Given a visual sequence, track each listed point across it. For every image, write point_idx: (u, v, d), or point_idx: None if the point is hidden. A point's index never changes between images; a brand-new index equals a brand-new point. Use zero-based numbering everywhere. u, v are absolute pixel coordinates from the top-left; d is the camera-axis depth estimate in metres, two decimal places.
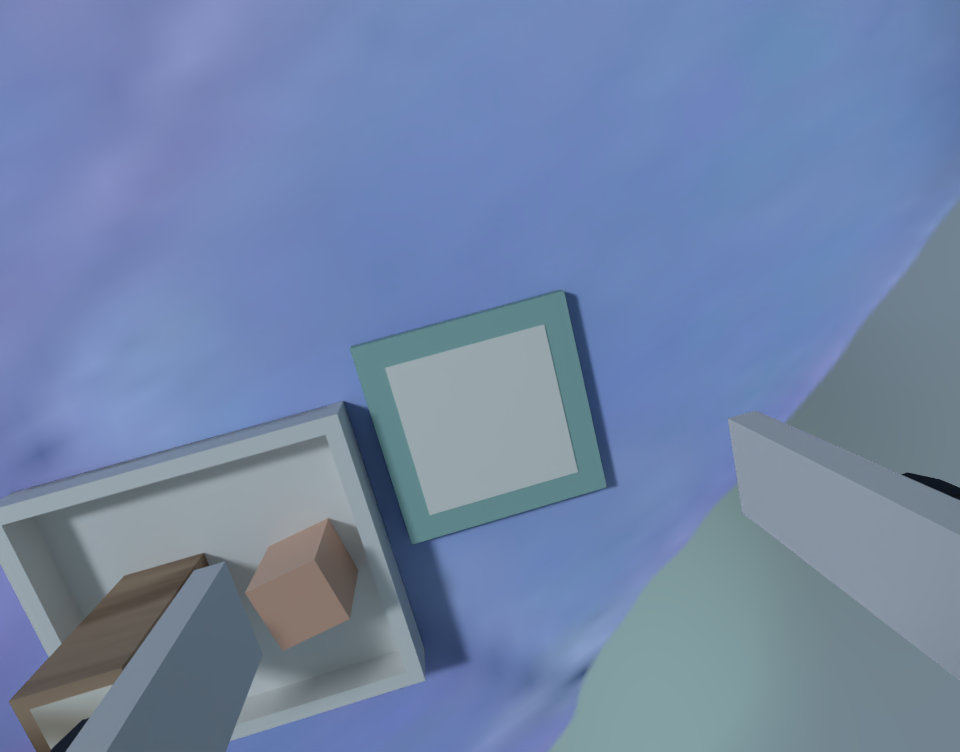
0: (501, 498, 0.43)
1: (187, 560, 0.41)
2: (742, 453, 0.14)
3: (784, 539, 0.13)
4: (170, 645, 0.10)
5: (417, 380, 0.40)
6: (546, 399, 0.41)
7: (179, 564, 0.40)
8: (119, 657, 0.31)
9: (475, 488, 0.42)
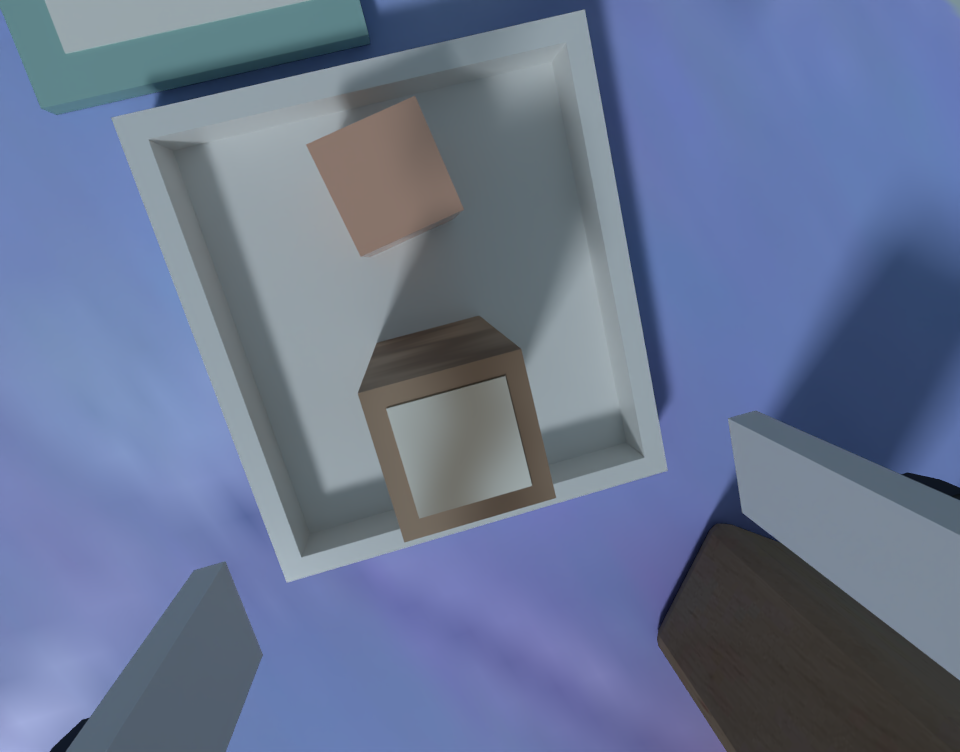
0: None
1: None
2: (742, 453, 0.14)
3: (784, 539, 0.13)
4: (170, 645, 0.10)
5: None
6: None
7: None
8: None
9: None
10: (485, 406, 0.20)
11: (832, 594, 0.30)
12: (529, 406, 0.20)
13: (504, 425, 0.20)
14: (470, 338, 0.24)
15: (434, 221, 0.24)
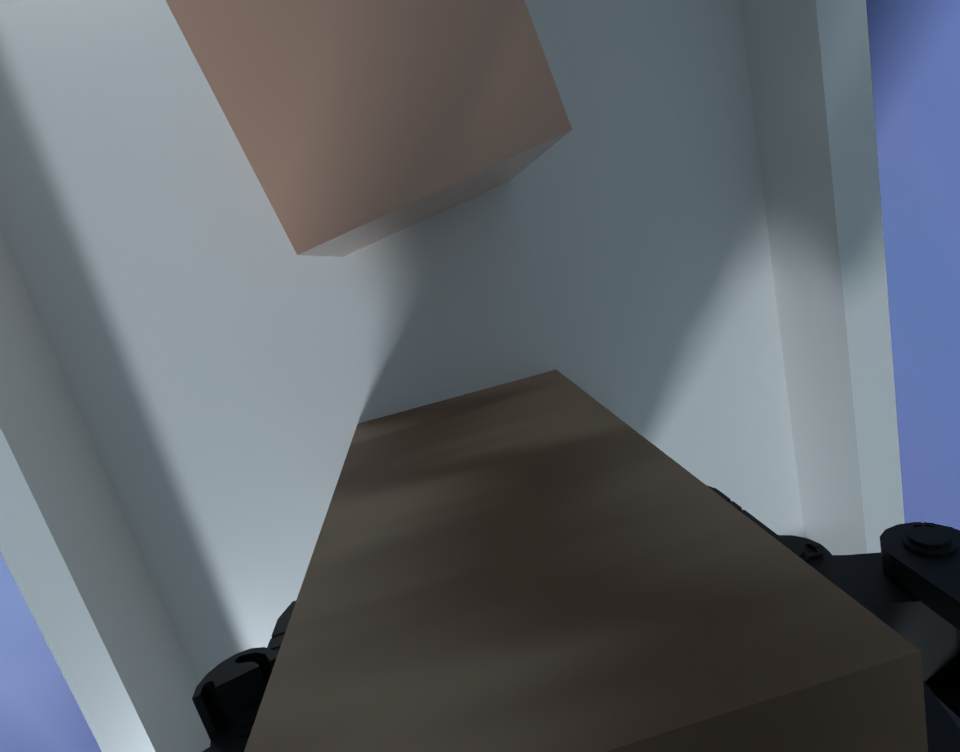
0: None
1: None
2: None
3: None
4: None
5: None
6: None
7: None
8: None
9: None
10: None
11: None
12: None
13: None
14: (584, 467, 0.09)
15: (493, 161, 0.09)
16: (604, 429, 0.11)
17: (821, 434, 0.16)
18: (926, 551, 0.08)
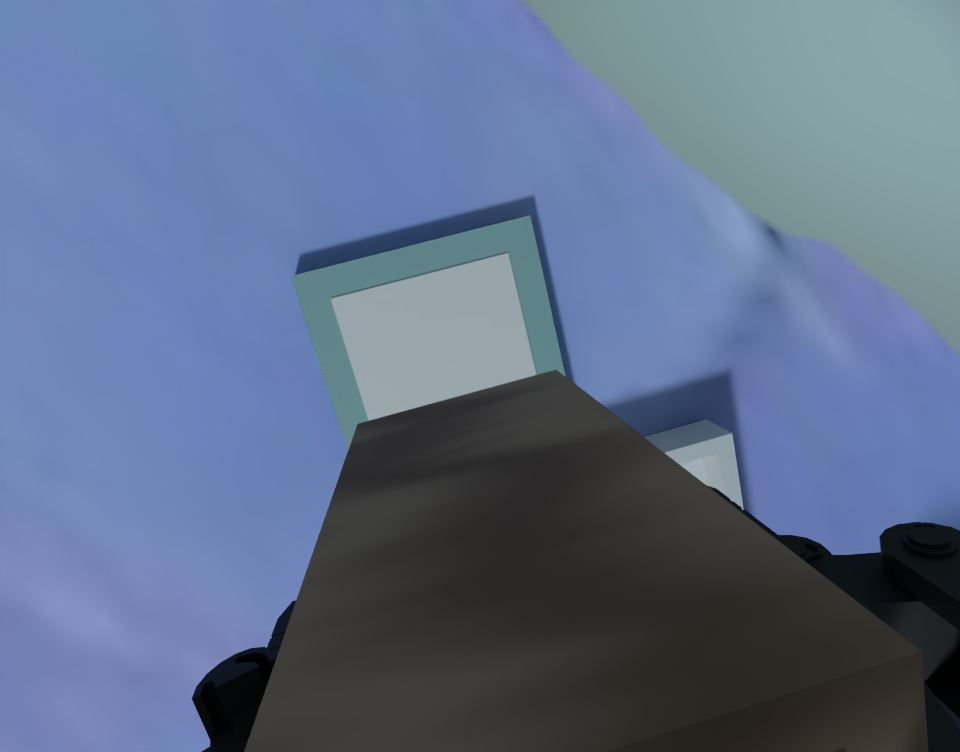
0: (534, 342, 0.38)
1: None
2: None
3: None
4: None
5: None
6: (418, 293, 0.36)
7: None
8: None
9: (520, 372, 0.38)
10: None
11: None
12: None
13: None
14: (584, 468, 0.09)
15: None
16: (604, 429, 0.11)
17: None
18: (927, 551, 0.08)
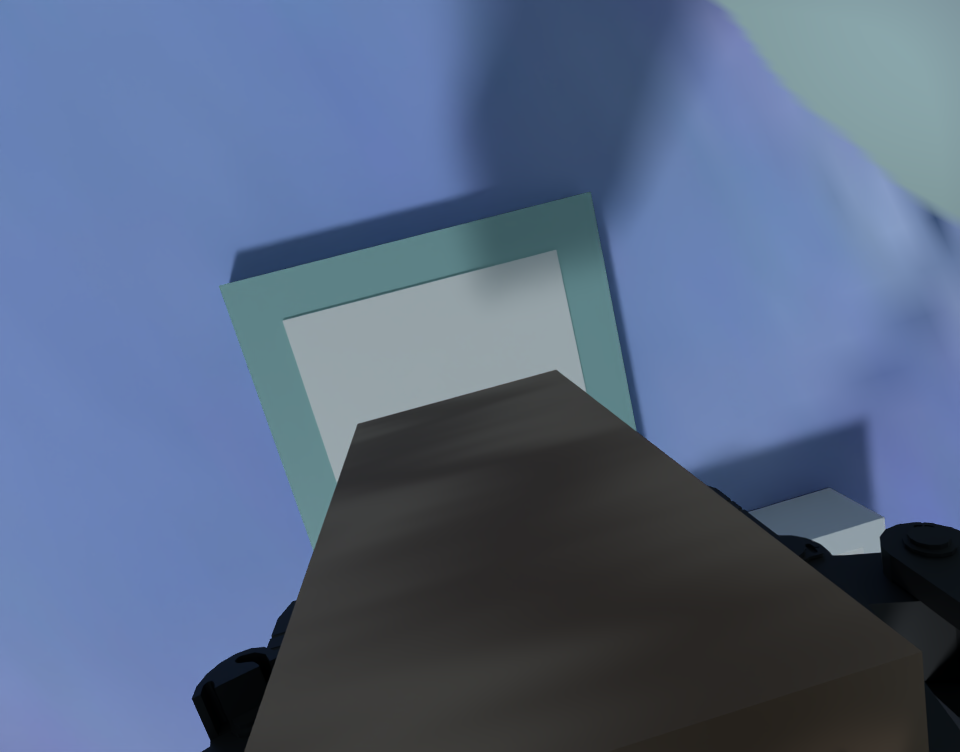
0: (592, 384, 0.25)
1: None
2: None
3: None
4: None
5: None
6: (419, 312, 0.24)
7: None
8: None
9: None
10: None
11: None
12: None
13: None
14: (585, 468, 0.09)
15: None
16: (604, 429, 0.11)
17: None
18: (927, 551, 0.08)
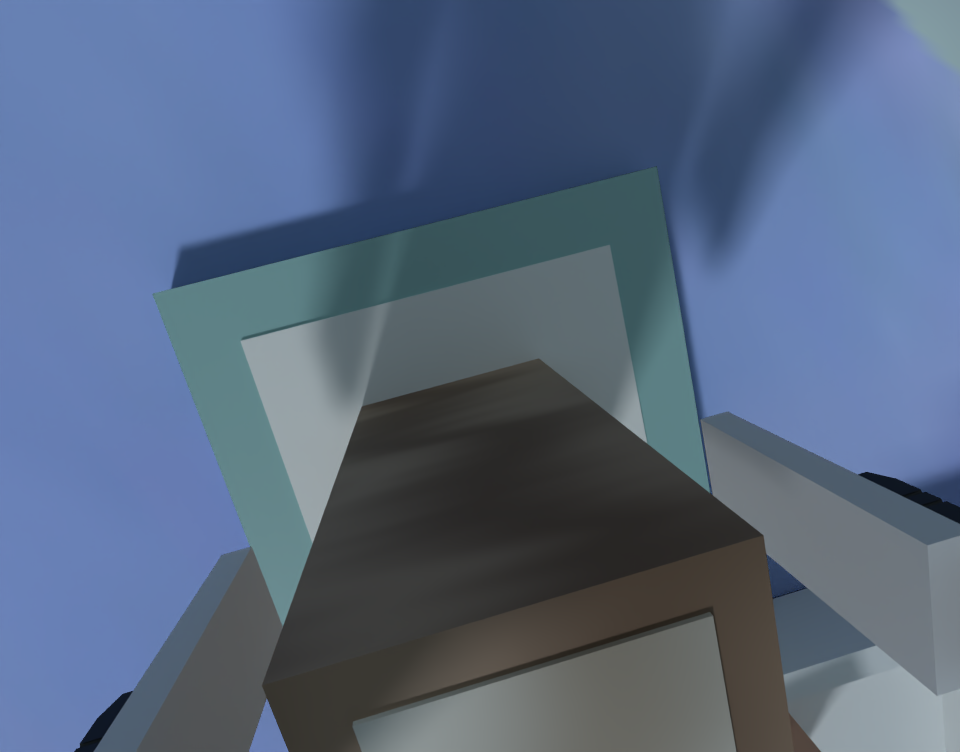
0: (653, 422, 0.19)
1: None
2: (713, 452, 0.14)
3: None
4: (206, 623, 0.11)
5: None
6: (425, 328, 0.18)
7: None
8: None
9: None
10: (646, 695, 0.07)
11: None
12: (769, 688, 0.07)
13: (700, 745, 0.07)
14: (552, 433, 0.11)
15: None
16: (572, 404, 0.13)
17: None
18: None
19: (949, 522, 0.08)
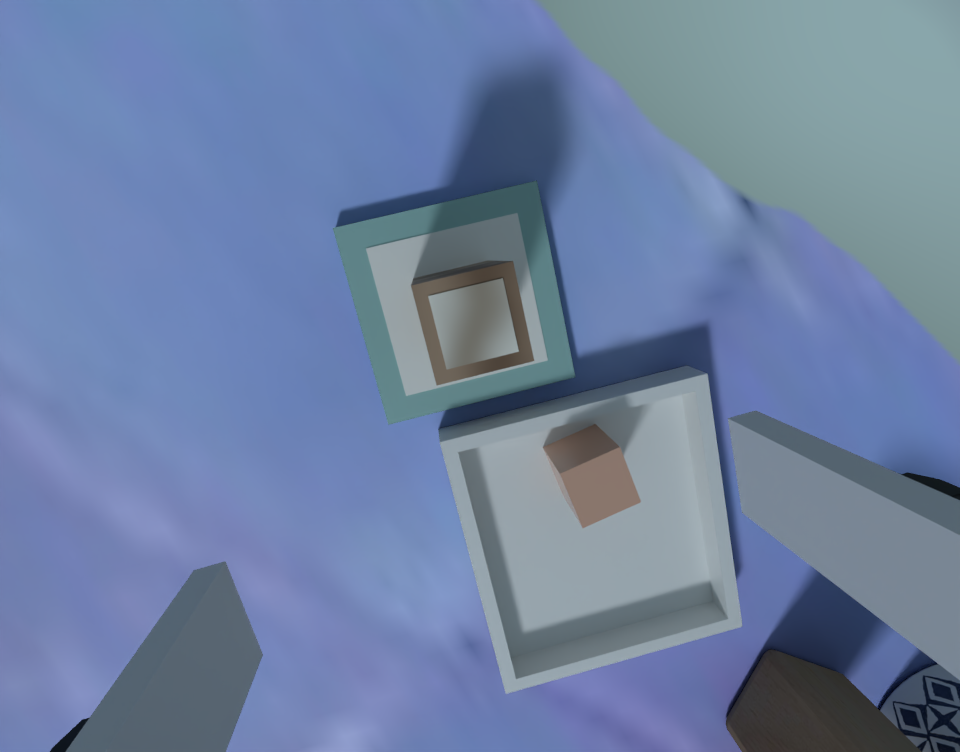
0: (538, 291, 0.44)
1: None
2: (742, 453, 0.14)
3: (784, 539, 0.13)
4: (170, 645, 0.10)
5: (418, 368, 0.44)
6: (440, 245, 0.42)
7: None
8: None
9: (525, 317, 0.44)
10: (489, 297, 0.32)
11: (846, 712, 0.48)
12: (517, 298, 0.32)
13: (502, 310, 0.32)
14: (481, 265, 0.36)
15: (624, 508, 0.43)
16: (491, 262, 0.38)
17: (711, 550, 0.50)
18: None
19: None
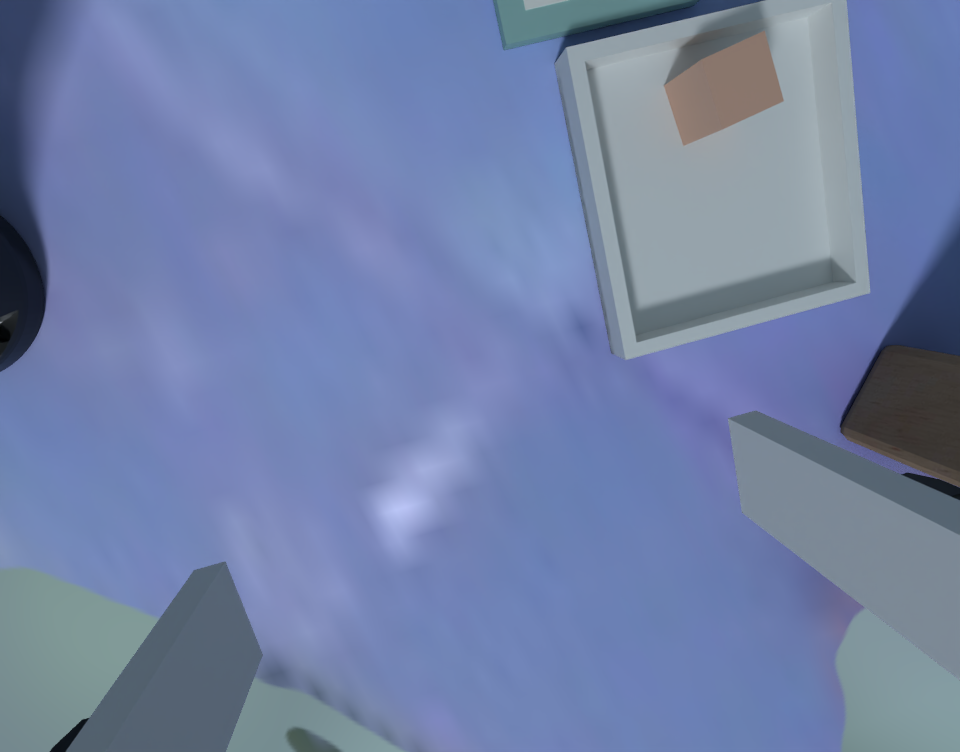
0: None
1: None
2: (742, 453, 0.14)
3: (784, 539, 0.13)
4: (170, 645, 0.10)
5: None
6: None
7: None
8: None
9: None
10: None
11: None
12: None
13: None
14: None
15: (766, 108, 0.40)
16: None
17: (837, 209, 0.47)
18: None
19: None
